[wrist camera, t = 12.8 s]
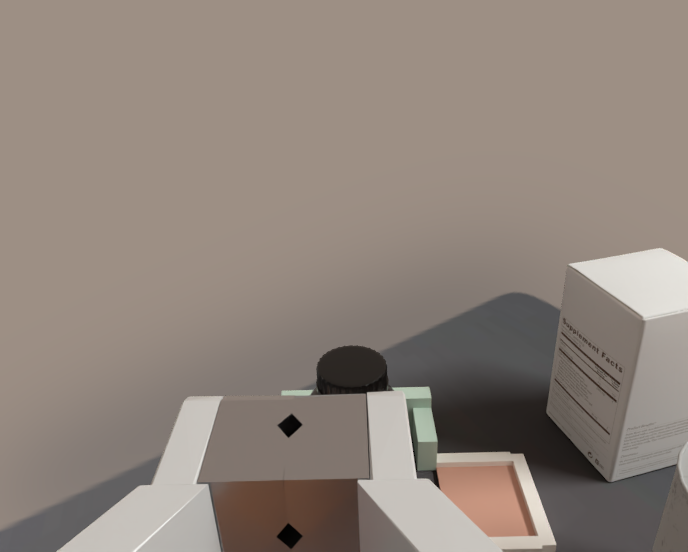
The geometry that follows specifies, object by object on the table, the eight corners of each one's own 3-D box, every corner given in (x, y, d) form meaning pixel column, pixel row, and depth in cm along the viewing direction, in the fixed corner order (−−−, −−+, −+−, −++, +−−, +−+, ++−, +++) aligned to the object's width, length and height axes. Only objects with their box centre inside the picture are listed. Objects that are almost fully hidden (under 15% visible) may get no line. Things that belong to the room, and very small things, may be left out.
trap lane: (636, 779, 29) (652, 735, 27) (98, 787, 30) (79, 745, 28) (507, 421, 52) (512, 384, 51) (206, 429, 53) (200, 393, 51)
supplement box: (629, 391, 55) (662, 244, 49) (705, 459, 48) (758, 295, 41) (541, 411, 53) (564, 260, 47) (606, 485, 46) (644, 317, 39)
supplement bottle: (296, 481, 47) (283, 355, 42) (368, 447, 50) (365, 325, 45) (341, 544, 42) (333, 409, 36) (419, 501, 45) (423, 371, 39)
